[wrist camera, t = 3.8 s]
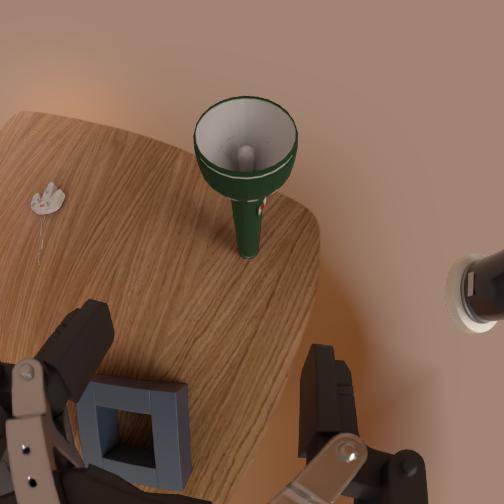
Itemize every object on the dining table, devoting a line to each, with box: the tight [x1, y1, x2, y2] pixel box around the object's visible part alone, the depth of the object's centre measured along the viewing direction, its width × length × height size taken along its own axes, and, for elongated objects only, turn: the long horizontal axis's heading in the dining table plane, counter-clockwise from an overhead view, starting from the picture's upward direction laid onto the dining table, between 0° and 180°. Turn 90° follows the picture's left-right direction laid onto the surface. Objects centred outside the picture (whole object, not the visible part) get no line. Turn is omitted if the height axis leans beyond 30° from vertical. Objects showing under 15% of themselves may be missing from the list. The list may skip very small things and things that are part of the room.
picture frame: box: [0, 447, 15, 496], centre depth 21 cm, size 16×3×21 cm
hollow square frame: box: [76, 374, 192, 491], centre depth 24 cm, size 11×11×5 cm
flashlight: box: [193, 96, 298, 259], centre depth 23 cm, size 5×5×20 cm
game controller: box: [31, 182, 65, 263], centre depth 32 cm, size 6×12×3 cm, turn 19°
